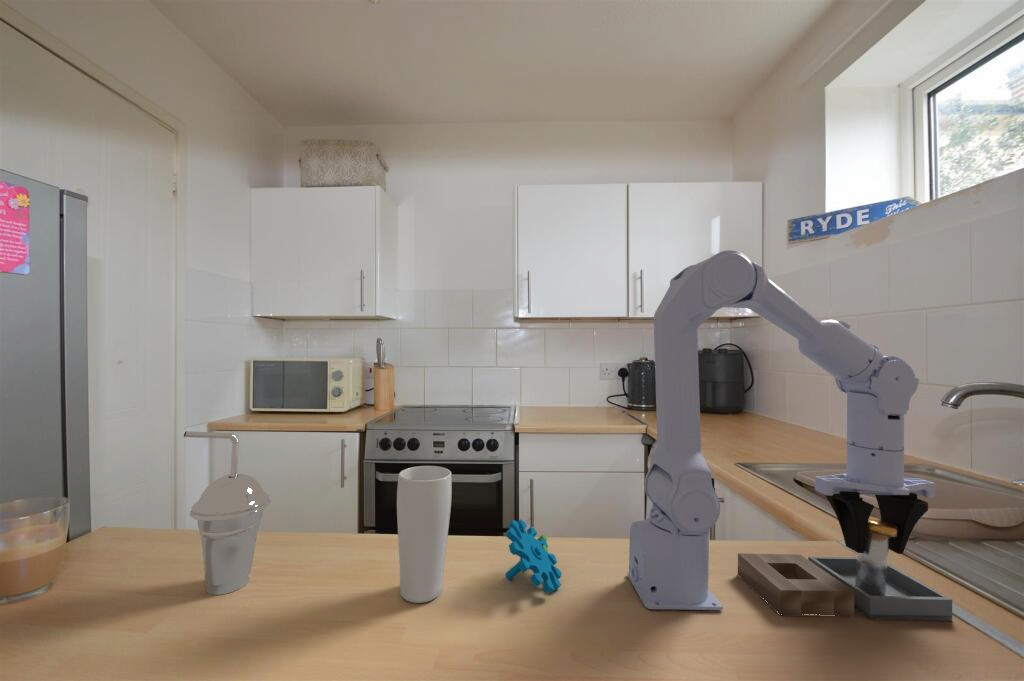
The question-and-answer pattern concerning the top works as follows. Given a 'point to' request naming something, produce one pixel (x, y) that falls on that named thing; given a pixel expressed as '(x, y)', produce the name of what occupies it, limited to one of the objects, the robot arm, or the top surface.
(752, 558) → the holder block
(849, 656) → the top surface
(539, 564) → the gear
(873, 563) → the pin
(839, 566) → the tray
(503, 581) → the top surface
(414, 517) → the drinking glass
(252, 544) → the cup with straw
